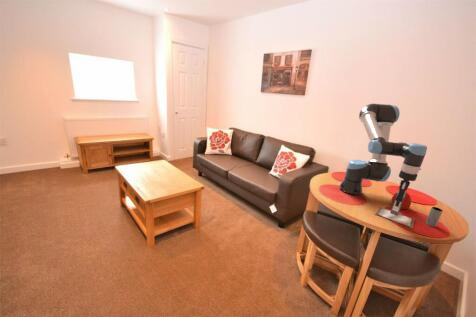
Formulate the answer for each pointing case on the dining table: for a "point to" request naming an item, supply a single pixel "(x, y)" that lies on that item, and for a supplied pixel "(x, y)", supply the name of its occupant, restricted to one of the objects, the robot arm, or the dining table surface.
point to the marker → (400, 206)
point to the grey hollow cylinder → (434, 216)
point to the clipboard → (396, 217)
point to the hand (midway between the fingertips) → (395, 209)
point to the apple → (405, 203)
